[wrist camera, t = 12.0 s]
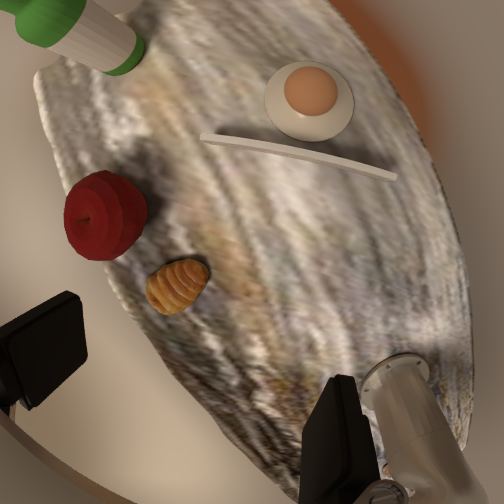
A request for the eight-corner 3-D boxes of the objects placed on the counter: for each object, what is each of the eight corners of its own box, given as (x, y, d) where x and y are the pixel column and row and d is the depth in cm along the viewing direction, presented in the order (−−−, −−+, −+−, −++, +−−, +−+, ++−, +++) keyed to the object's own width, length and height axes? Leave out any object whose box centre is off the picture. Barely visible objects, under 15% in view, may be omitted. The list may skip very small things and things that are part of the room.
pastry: (191, 243, 36) (181, 250, 33) (221, 283, 37) (214, 294, 34) (146, 278, 39) (134, 288, 35) (174, 314, 40) (164, 326, 36)
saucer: (369, 118, 29) (370, 117, 28) (295, 157, 32) (295, 157, 31) (320, 50, 27) (321, 49, 27) (248, 87, 30) (247, 85, 29)
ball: (343, 108, 28) (352, 93, 23) (302, 130, 30) (303, 118, 24) (316, 70, 28) (319, 49, 22) (275, 91, 29) (271, 73, 24)
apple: (133, 261, 38) (84, 289, 27) (92, 211, 37) (37, 224, 26) (179, 208, 35) (132, 221, 24) (130, 155, 34) (75, 151, 23)
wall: (384, 174, 30) (397, 174, 26) (383, 180, 31) (395, 180, 26) (212, 138, 32) (201, 132, 28) (210, 144, 32) (199, 139, 28)
